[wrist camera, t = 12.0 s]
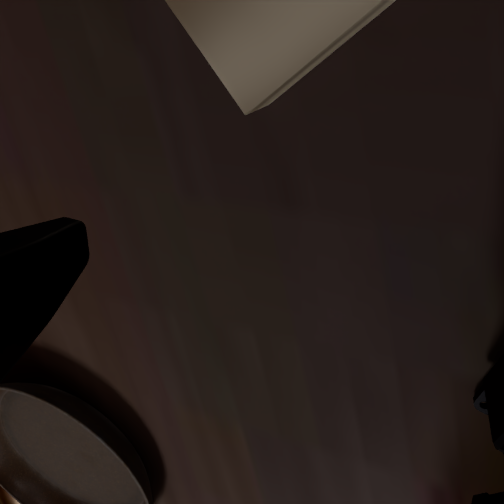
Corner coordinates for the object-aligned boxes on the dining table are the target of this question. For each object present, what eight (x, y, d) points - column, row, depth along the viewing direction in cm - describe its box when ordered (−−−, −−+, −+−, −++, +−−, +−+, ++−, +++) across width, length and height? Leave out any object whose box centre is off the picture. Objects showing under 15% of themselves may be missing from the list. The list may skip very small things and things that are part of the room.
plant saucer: (210, 486, 35) (192, 524, 32) (113, 538, 46) (94, 569, 44) (25, 322, 34) (-11, 347, 31) (-27, 416, 46) (-57, 441, 43)
